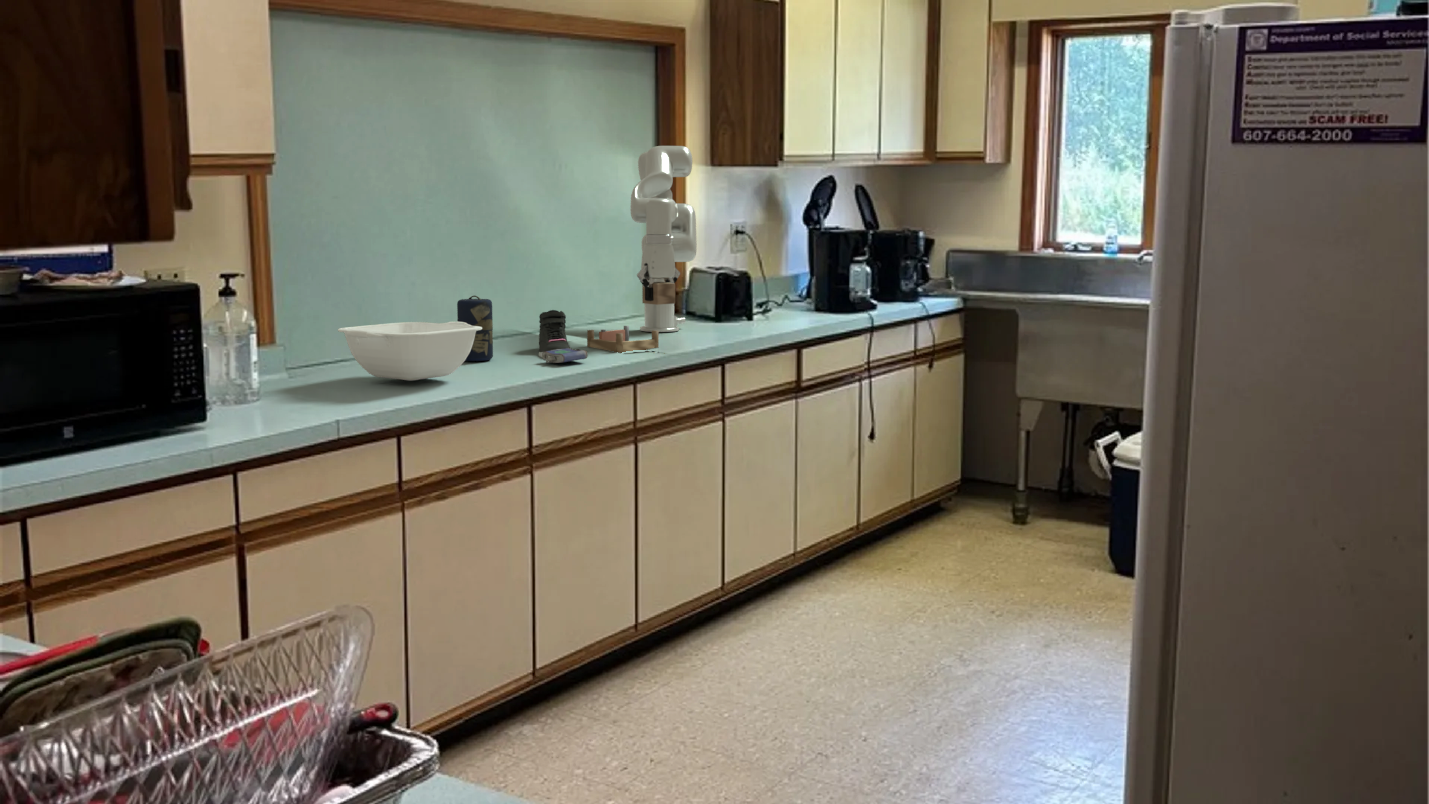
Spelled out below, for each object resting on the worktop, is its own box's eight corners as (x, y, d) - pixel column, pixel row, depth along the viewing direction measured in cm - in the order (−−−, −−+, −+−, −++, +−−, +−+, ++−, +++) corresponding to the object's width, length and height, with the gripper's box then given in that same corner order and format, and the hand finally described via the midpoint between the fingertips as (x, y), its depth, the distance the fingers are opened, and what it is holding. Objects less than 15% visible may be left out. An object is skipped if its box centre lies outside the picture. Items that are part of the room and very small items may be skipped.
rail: (626, 346, 416) (625, 325, 415) (630, 346, 415) (629, 325, 414) (598, 349, 406) (598, 328, 405) (602, 350, 405) (602, 328, 404)
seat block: (660, 302, 418) (660, 281, 417) (675, 303, 413) (675, 282, 412) (642, 303, 413) (642, 282, 412) (657, 304, 408) (657, 283, 407)
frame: (626, 347, 416) (626, 327, 415) (659, 351, 405) (659, 330, 404) (586, 350, 406) (585, 330, 405) (618, 354, 395) (618, 333, 394)
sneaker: (543, 361, 378) (543, 314, 377) (530, 351, 403) (529, 308, 401) (578, 360, 381) (578, 314, 379) (562, 351, 406) (562, 307, 404)
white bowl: (422, 366, 365) (421, 318, 363) (501, 374, 349) (500, 324, 347) (319, 379, 337) (317, 327, 335) (400, 388, 321) (398, 334, 319)
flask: (588, 350, 374) (557, 355, 366) (588, 360, 375) (558, 366, 367) (566, 346, 380) (535, 352, 373) (566, 357, 381) (536, 362, 373)
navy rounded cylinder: (464, 363, 371) (462, 296, 369) (453, 360, 380) (452, 294, 377) (498, 361, 376) (496, 296, 373) (487, 358, 384) (485, 294, 382)
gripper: (672, 239, 419) (672, 298, 422) (628, 240, 407) (628, 300, 410) (688, 240, 413) (688, 299, 416) (644, 241, 402) (644, 302, 404)
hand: (658, 299), depth 413 cm, fingers closed on seat block, 7 cm apart
